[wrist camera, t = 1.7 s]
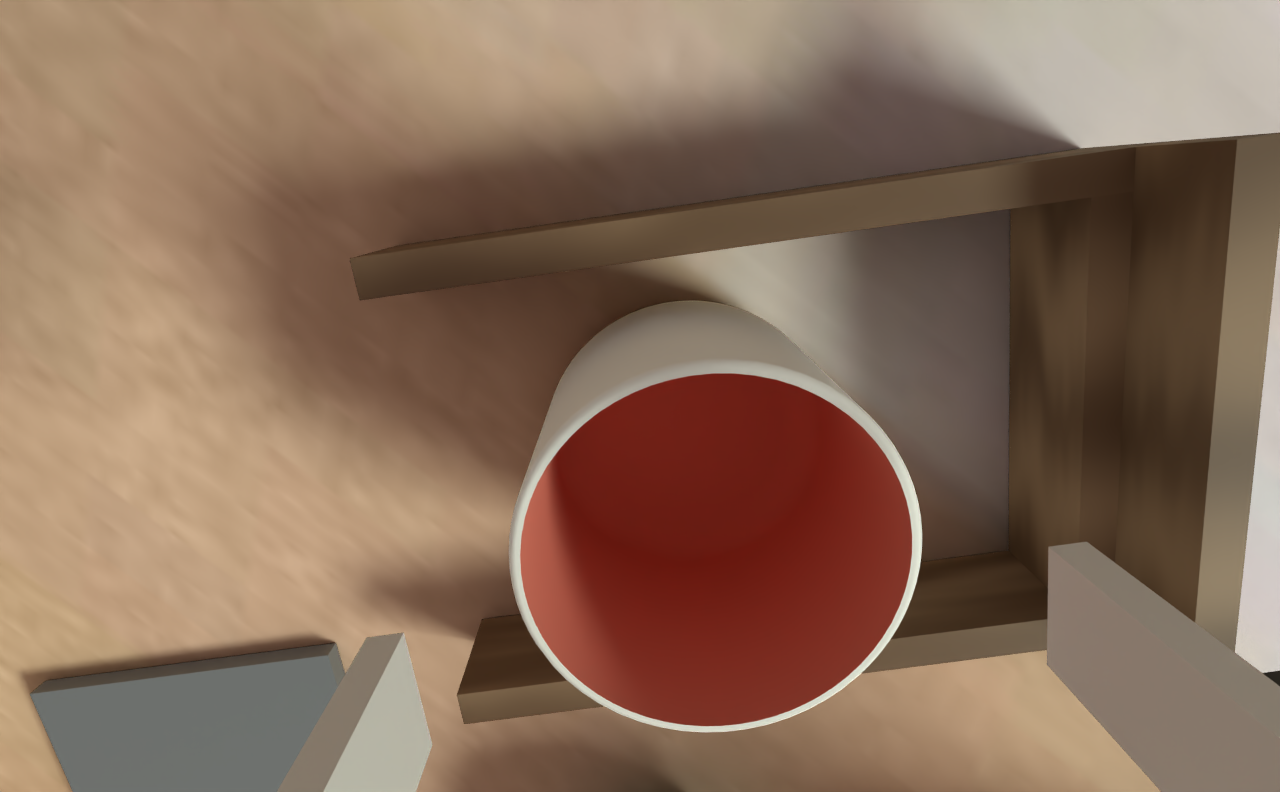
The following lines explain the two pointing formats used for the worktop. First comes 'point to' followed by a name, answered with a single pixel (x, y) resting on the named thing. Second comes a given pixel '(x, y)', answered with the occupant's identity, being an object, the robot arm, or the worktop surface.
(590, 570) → the cup
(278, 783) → the coaster
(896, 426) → the worktop surface
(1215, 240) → the frame
